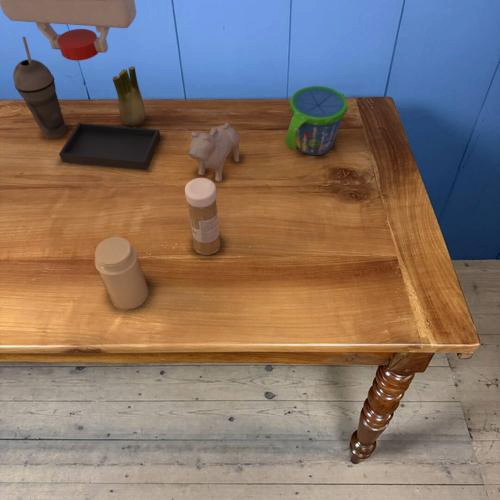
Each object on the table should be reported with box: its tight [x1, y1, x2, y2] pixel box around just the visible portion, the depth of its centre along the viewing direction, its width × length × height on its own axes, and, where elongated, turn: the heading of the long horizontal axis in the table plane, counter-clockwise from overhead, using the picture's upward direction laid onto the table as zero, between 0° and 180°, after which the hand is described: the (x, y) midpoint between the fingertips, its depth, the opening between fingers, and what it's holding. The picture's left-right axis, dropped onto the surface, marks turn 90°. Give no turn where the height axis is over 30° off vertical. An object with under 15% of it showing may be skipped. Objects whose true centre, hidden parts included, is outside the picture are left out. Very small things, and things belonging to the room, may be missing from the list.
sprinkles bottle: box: [184, 177, 221, 256], centre depth 71 cm, size 5×5×13 cm
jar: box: [94, 236, 149, 311], centre depth 67 cm, size 6×6×11 cm
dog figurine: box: [187, 122, 240, 182], centre depth 84 cm, size 5×13×11 cm, turn 151°
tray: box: [58, 122, 162, 171], centre depth 92 cm, size 17×10×2 cm, turn 82°
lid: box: [58, 28, 100, 61], centre depth 74 cm, size 6×6×2 cm
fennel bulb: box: [112, 65, 147, 128], centre depth 93 cm, size 6×5×12 cm
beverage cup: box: [12, 36, 67, 140], centre depth 89 cm, size 7×7×20 cm
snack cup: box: [284, 85, 349, 156], centre depth 89 cm, size 16×10×10 cm
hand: (81, 49), depth 74 cm, fingers closed on lid, 6 cm apart
